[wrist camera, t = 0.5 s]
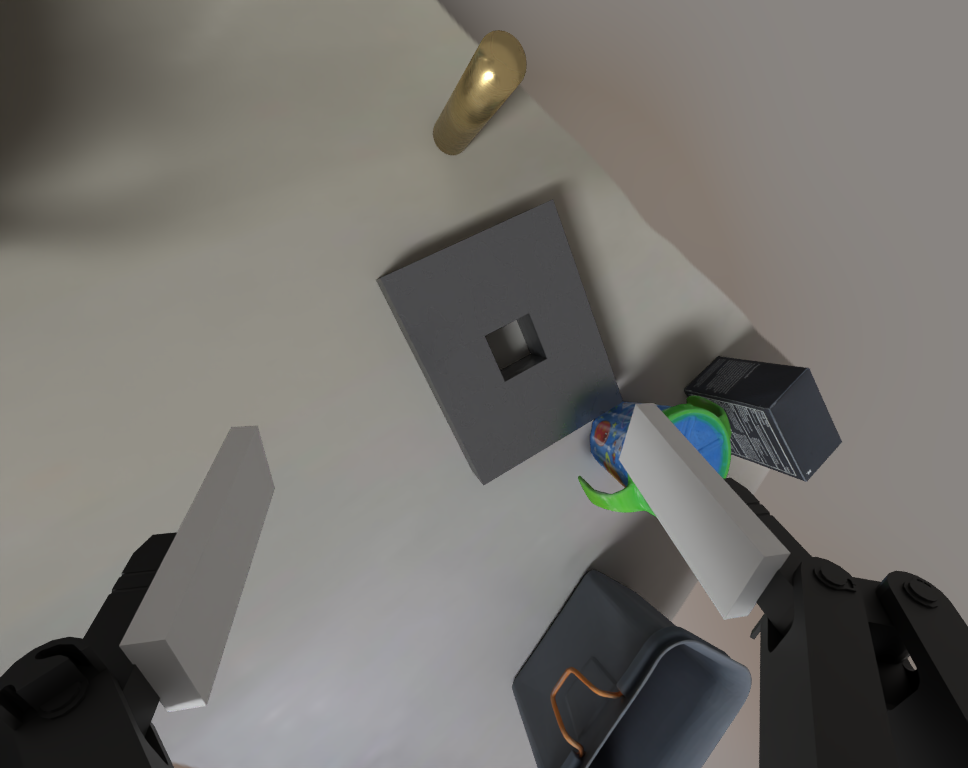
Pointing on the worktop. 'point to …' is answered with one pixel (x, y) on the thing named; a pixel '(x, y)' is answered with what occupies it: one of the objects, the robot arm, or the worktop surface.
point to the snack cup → (693, 420)
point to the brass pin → (480, 91)
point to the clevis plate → (489, 306)
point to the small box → (771, 413)
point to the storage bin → (625, 686)
